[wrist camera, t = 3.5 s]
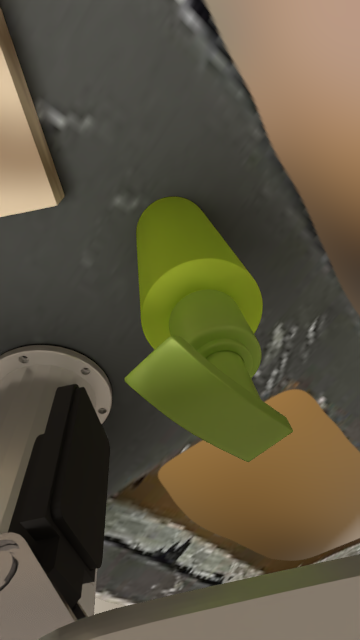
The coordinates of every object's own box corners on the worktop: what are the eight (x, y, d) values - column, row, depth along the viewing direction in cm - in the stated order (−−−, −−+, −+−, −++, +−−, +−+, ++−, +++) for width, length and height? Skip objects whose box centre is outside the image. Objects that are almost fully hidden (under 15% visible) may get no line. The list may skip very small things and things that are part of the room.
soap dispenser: (161, 168, 24) (235, 290, 7) (223, 232, 27) (374, 421, 10) (110, 227, 26) (74, 436, 9) (173, 281, 29) (234, 511, 12)
